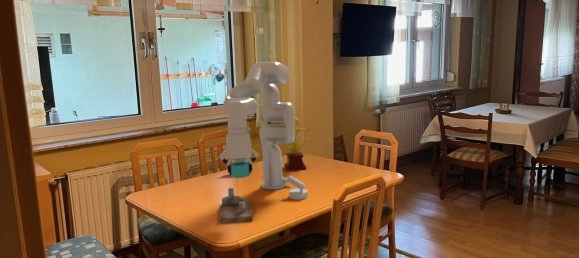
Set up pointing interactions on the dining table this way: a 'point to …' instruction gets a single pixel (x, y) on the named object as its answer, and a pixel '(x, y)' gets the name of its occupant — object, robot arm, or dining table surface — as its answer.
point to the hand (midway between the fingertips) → (240, 173)
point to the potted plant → (295, 153)
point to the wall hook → (297, 193)
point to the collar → (240, 169)
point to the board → (235, 208)
